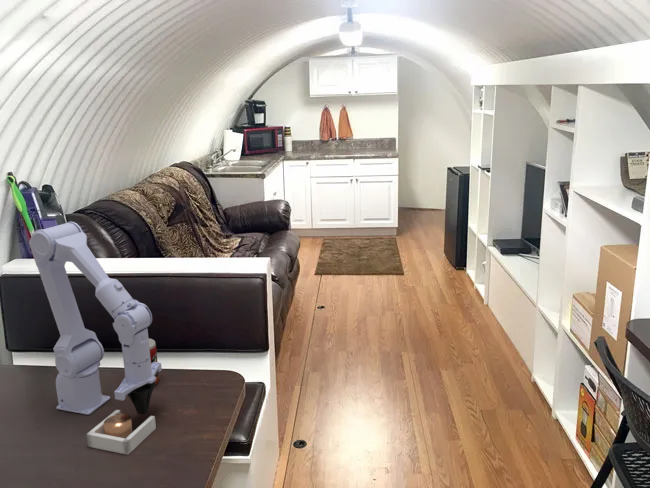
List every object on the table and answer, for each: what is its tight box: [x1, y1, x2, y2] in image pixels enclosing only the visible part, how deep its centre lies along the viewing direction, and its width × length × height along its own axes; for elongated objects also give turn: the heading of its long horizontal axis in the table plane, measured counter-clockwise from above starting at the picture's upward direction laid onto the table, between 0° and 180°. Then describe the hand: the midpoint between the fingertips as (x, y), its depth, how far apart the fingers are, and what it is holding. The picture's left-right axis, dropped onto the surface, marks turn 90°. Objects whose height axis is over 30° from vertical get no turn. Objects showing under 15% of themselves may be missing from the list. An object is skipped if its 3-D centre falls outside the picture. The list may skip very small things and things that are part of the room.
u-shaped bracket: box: [85, 409, 157, 456], centre depth 123 cm, size 10×10×3 cm
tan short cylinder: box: [104, 413, 134, 439], centre depth 123 cm, size 6×6×4 cm
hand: (142, 412), depth 130 cm, fingers closed
